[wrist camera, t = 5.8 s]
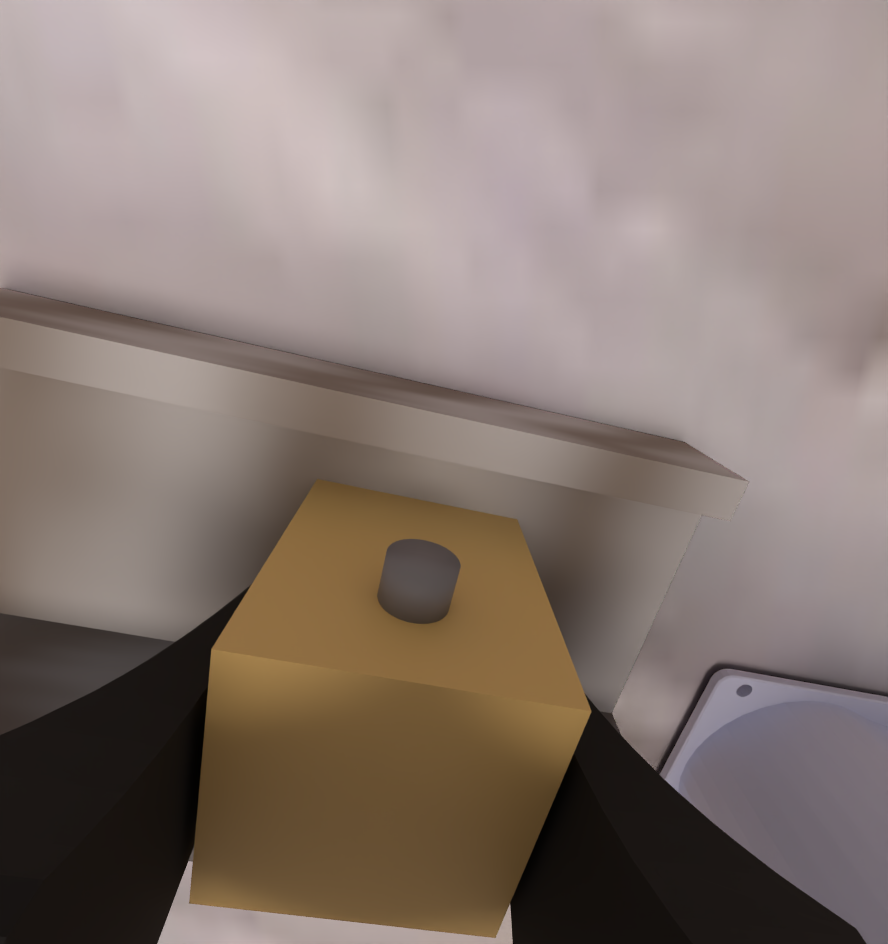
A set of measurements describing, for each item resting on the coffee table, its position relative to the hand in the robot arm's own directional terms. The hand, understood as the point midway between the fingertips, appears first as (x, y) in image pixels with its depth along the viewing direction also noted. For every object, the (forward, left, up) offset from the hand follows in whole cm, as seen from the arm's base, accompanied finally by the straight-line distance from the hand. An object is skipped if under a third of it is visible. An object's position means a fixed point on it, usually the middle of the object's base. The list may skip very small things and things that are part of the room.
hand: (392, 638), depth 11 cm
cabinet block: (0, 0, -2) cm, 2 cm away
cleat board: (+2, 0, -4) cm, 4 cm away
